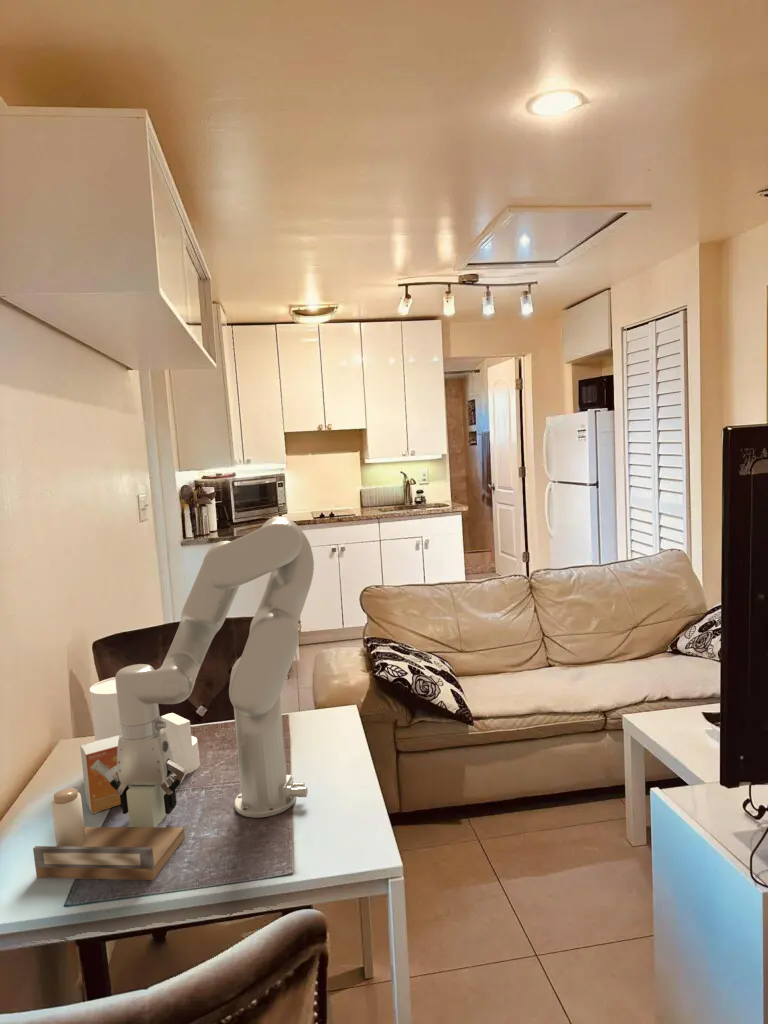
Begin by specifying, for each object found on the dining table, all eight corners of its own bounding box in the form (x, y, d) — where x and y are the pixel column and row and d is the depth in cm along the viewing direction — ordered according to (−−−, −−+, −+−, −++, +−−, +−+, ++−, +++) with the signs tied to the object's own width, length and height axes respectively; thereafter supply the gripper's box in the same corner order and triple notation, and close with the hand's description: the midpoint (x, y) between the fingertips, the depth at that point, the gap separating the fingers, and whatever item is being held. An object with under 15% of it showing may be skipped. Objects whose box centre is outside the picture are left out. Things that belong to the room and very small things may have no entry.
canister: (85, 774, 162) (76, 692, 160) (124, 750, 174) (116, 673, 173) (133, 779, 157) (124, 695, 156) (169, 754, 170) (161, 675, 168)
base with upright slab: (153, 769, 162) (148, 720, 161) (188, 755, 168) (183, 708, 167) (171, 780, 156) (166, 729, 155) (206, 766, 162) (202, 716, 161)
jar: (91, 837, 130) (85, 786, 129) (76, 852, 125) (70, 800, 124) (66, 836, 131) (61, 786, 130) (50, 852, 126) (44, 800, 125)
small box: (91, 815, 143) (84, 754, 141) (86, 803, 148) (79, 744, 147) (131, 801, 147) (125, 743, 146) (125, 790, 152) (118, 734, 151)
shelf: (184, 837, 131) (182, 810, 131) (153, 880, 118) (149, 850, 118) (78, 836, 134) (75, 809, 134) (35, 878, 121) (32, 849, 121)
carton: (169, 811, 142) (166, 774, 141) (154, 830, 135) (150, 791, 134) (146, 811, 143) (142, 774, 142) (129, 830, 136) (125, 791, 135)
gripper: (189, 719, 140) (197, 801, 141) (110, 720, 142) (118, 801, 143) (173, 734, 132) (182, 820, 134) (89, 736, 134) (99, 820, 136)
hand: (149, 810), depth 139 cm, fingers open, 8 cm apart
